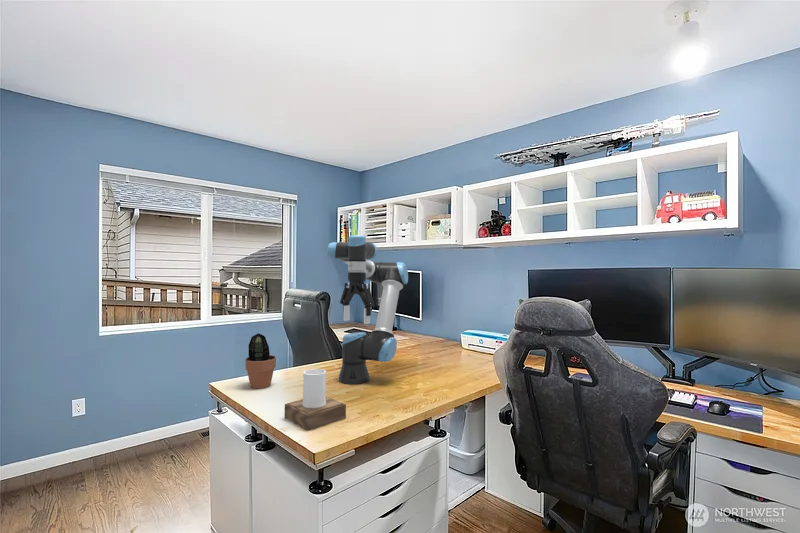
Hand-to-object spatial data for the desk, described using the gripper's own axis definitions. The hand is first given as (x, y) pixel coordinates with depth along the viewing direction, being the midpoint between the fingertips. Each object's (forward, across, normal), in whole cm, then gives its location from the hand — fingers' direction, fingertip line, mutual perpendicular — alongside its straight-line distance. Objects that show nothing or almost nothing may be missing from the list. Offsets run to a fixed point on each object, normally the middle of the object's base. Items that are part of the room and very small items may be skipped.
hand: (356, 322), depth 162 cm
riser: (+33, +5, -23) cm, 40 cm away
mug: (+28, +4, -23) cm, 36 cm away
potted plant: (+33, -46, -20) cm, 60 cm away
